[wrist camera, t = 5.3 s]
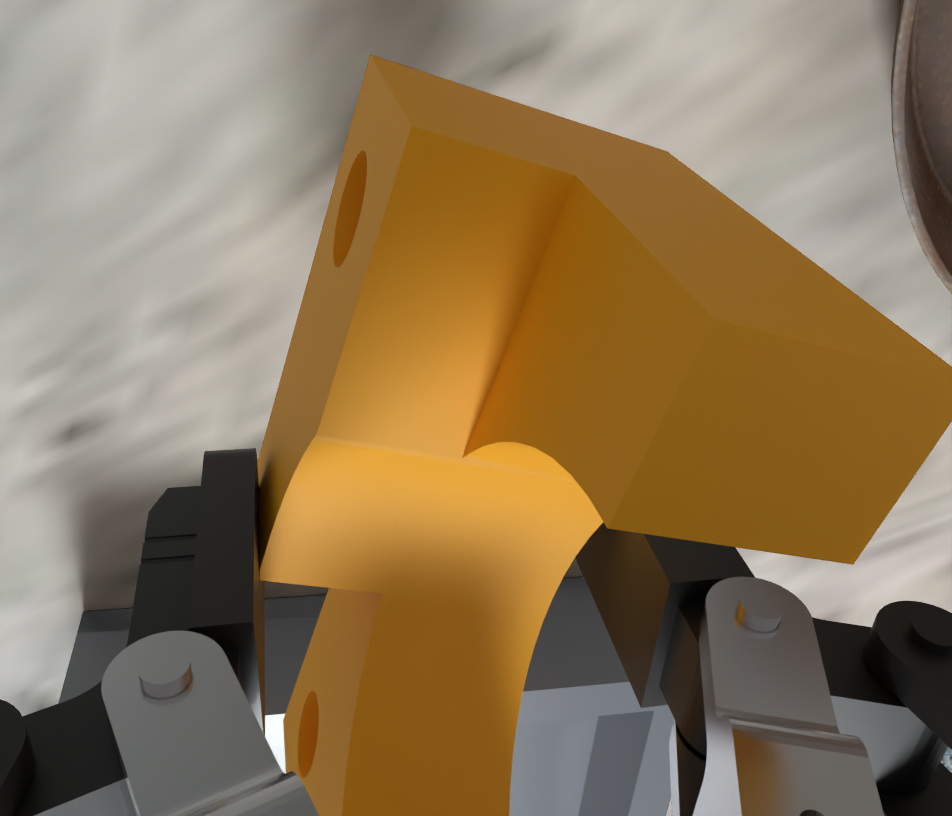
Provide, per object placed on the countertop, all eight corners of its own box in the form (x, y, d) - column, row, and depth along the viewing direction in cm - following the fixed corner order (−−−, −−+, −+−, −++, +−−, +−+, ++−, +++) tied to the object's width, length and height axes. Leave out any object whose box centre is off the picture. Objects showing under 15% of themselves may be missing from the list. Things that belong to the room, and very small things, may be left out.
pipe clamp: (370, 54, 11) (489, 262, 6) (666, 151, 13) (976, 384, 7) (187, 715, 16) (164, 1135, 11) (411, 726, 18) (483, 1101, 13)
